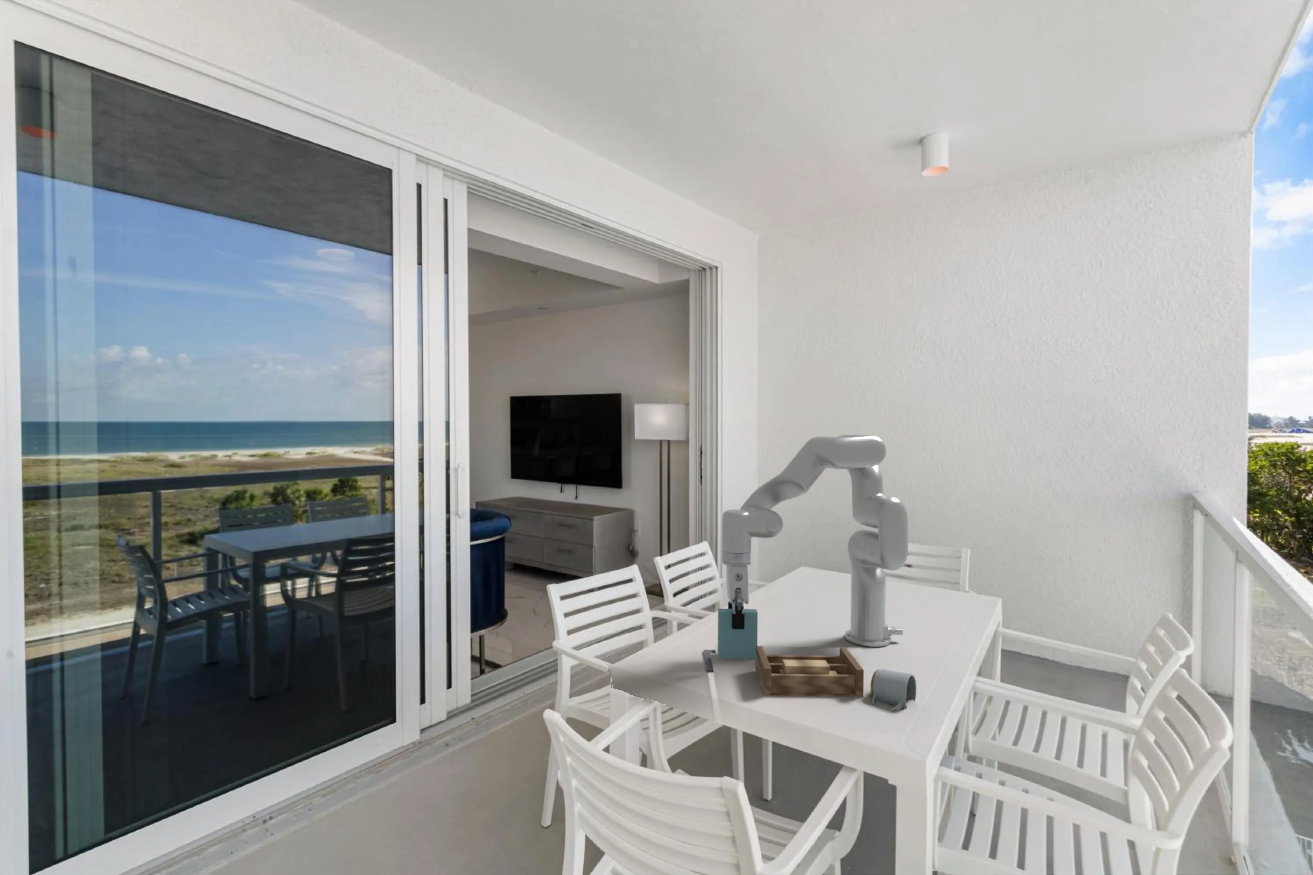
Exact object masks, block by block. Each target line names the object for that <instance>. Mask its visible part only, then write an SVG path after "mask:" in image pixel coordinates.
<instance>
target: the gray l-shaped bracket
mask: <svg viewBox="0 0 1313 875" xmlns="http://www.w3.org/2000/svg"><path fill="white" fill-rule="evenodd" d="M712 654H713V655H714V654H717V651H716V649H703V656H704V663H705V668H706V669H705V670H706V673H714V672H715V671H714V666H713V662H712Z"/></svg>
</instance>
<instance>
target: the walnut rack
mask: <svg viewBox="0 0 1313 875" xmlns="http://www.w3.org/2000/svg"><path fill="white" fill-rule="evenodd" d="M783 660H826V662H827V663H828V665H829V666H830V671H836V673H837V674H779V670H783ZM755 672H756V674H757V677H758V680H759V684H760V686H761V689H762V691H763V695H764V696H777V697H779V696H787V697H788V696H789V697H791V696H793V697H796V696H797V697H848V698H849V697H854V698H857V697H859V698H860V697H861V698H862V697H864V685H865V684H864V680H865V678H864V677H865V676H864V672H865V670H864V668H863V667H862V666H861V665H860V663H859V662H858V660H856V658H855V657H854V656H853V654H852V653H851V652H850V651H849V649H848V648H847V647H846V646H839V655H820V654H819V655H810V654H807V655H806V654H800V655H799V654H798V655H797V654H766V652H765V650H764V646H762V645H757V646H756V659H755Z"/></svg>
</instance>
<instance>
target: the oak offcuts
mask: <svg viewBox="0 0 1313 875" xmlns="http://www.w3.org/2000/svg"><path fill="white" fill-rule="evenodd" d="M779 674H837V673H836V671H830V666H829V665H828V663H827V662H826V660H783V670H779Z"/></svg>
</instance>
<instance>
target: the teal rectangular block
mask: <svg viewBox="0 0 1313 875" xmlns="http://www.w3.org/2000/svg"><path fill="white" fill-rule="evenodd" d="M732 613H733V609H728V608H717V658H718V659H737V660H738V659H748V660H751V659H752V660H756V646H758V614H759V613H758V610H757V609H756V608H744V613H745V628H744V629H732Z"/></svg>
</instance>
